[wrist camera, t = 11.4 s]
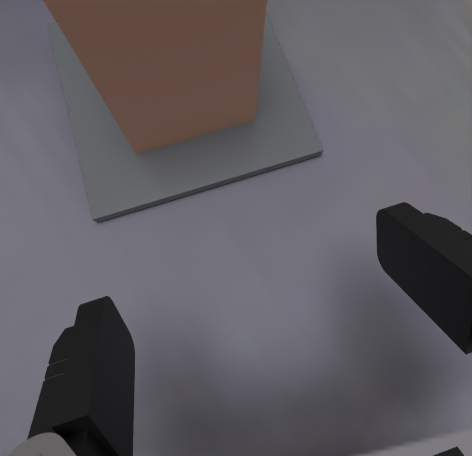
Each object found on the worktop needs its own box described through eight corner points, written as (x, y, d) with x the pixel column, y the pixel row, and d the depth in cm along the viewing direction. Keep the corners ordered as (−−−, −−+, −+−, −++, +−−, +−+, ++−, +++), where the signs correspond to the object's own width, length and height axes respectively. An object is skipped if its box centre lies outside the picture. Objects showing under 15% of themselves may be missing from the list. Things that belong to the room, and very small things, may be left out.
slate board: (97, 222, 18) (92, 219, 18) (52, 32, 21) (47, 23, 20) (320, 155, 19) (323, 150, 19) (249, -19, 22) (249, -28, 21)
